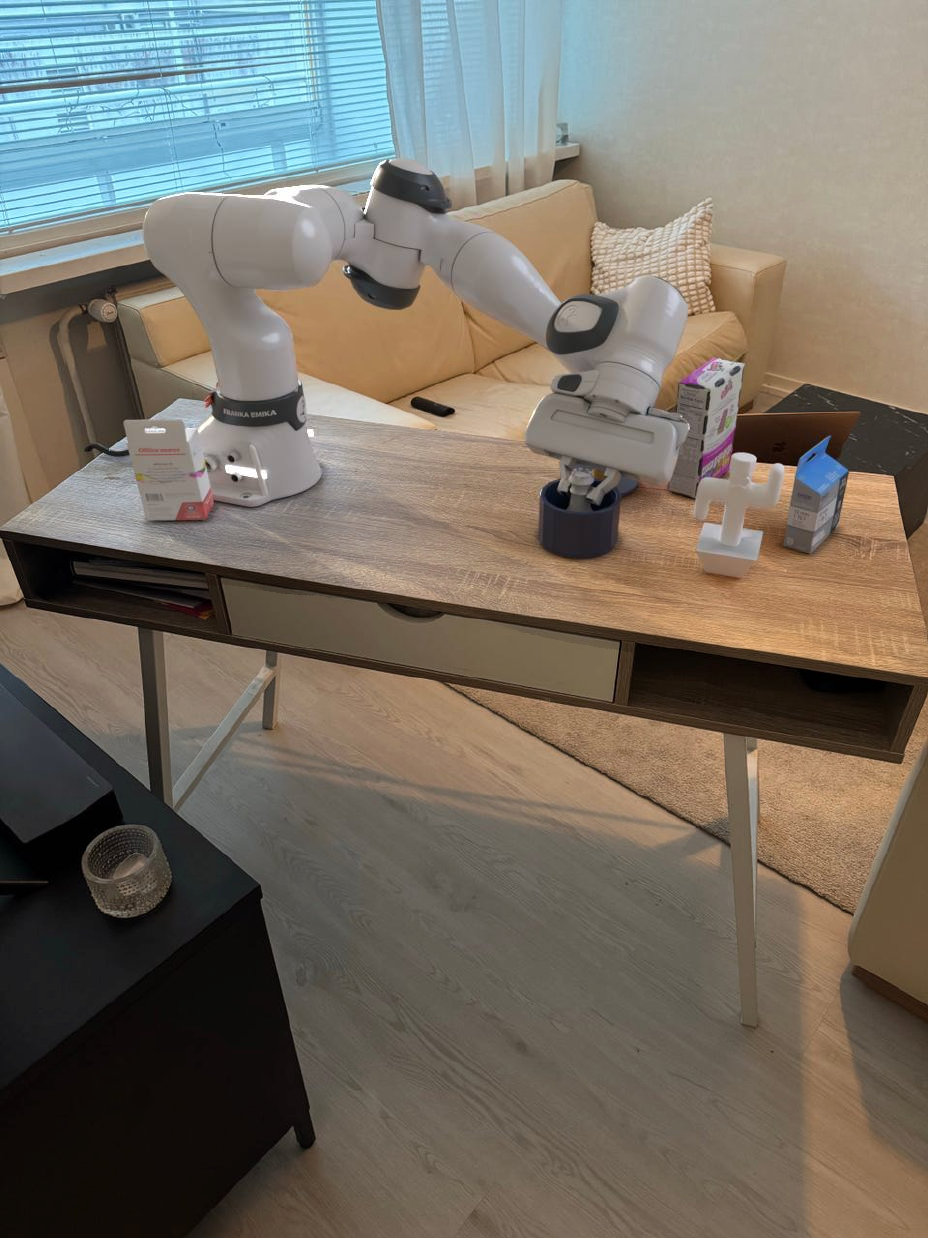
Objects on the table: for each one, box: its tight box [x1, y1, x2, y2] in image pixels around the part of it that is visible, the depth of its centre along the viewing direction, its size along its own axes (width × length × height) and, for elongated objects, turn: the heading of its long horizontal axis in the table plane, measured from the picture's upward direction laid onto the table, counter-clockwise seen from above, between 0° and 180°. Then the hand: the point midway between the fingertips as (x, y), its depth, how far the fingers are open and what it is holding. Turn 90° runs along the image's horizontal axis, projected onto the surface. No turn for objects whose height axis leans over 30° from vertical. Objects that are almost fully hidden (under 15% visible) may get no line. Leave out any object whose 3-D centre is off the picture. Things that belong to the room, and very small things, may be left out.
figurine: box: [693, 452, 786, 579], centre depth 110 cm, size 7×9×15 cm
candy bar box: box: [667, 357, 746, 500], centre depth 128 cm, size 11×5×16 cm, turn 143°
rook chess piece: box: [566, 468, 594, 512], centre depth 117 cm, size 4×4×8 cm
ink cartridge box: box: [123, 418, 215, 521], centre depth 124 cm, size 9×5×15 cm, turn 88°
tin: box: [538, 477, 622, 560], centre depth 119 cm, size 10×10×6 cm
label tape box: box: [783, 435, 850, 555], centre depth 116 cm, size 9×4×12 cm, turn 139°
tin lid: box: [570, 465, 640, 497], centre depth 132 cm, size 11×11×5 cm
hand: (577, 498), depth 117 cm, fingers closed on rook chess piece, 3 cm apart
